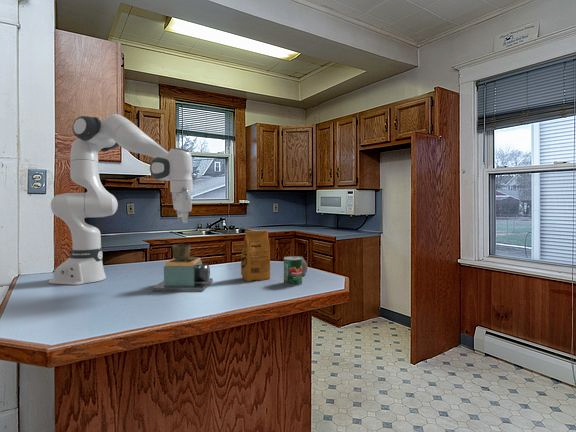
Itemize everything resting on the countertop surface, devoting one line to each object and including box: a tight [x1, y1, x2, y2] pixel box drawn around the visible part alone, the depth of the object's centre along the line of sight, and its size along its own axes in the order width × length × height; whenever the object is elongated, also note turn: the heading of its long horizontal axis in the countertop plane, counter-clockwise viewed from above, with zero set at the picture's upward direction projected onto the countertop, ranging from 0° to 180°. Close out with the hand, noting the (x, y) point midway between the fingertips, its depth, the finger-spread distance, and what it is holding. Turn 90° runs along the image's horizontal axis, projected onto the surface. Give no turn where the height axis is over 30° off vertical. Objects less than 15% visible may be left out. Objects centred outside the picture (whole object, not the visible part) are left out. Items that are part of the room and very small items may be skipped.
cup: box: [171, 243, 192, 262], centre depth 147 cm, size 8×7×8 cm
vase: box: [297, 255, 308, 277], centre depth 167 cm, size 7×7×9 cm
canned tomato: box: [283, 255, 303, 287], centre depth 151 cm, size 8×8×11 cm
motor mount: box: [151, 257, 214, 293], centre depth 148 cm, size 20×16×11 cm
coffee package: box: [240, 229, 271, 282], centre depth 160 cm, size 10×12×22 cm
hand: (182, 222), depth 146 cm, fingers open, 8 cm apart
